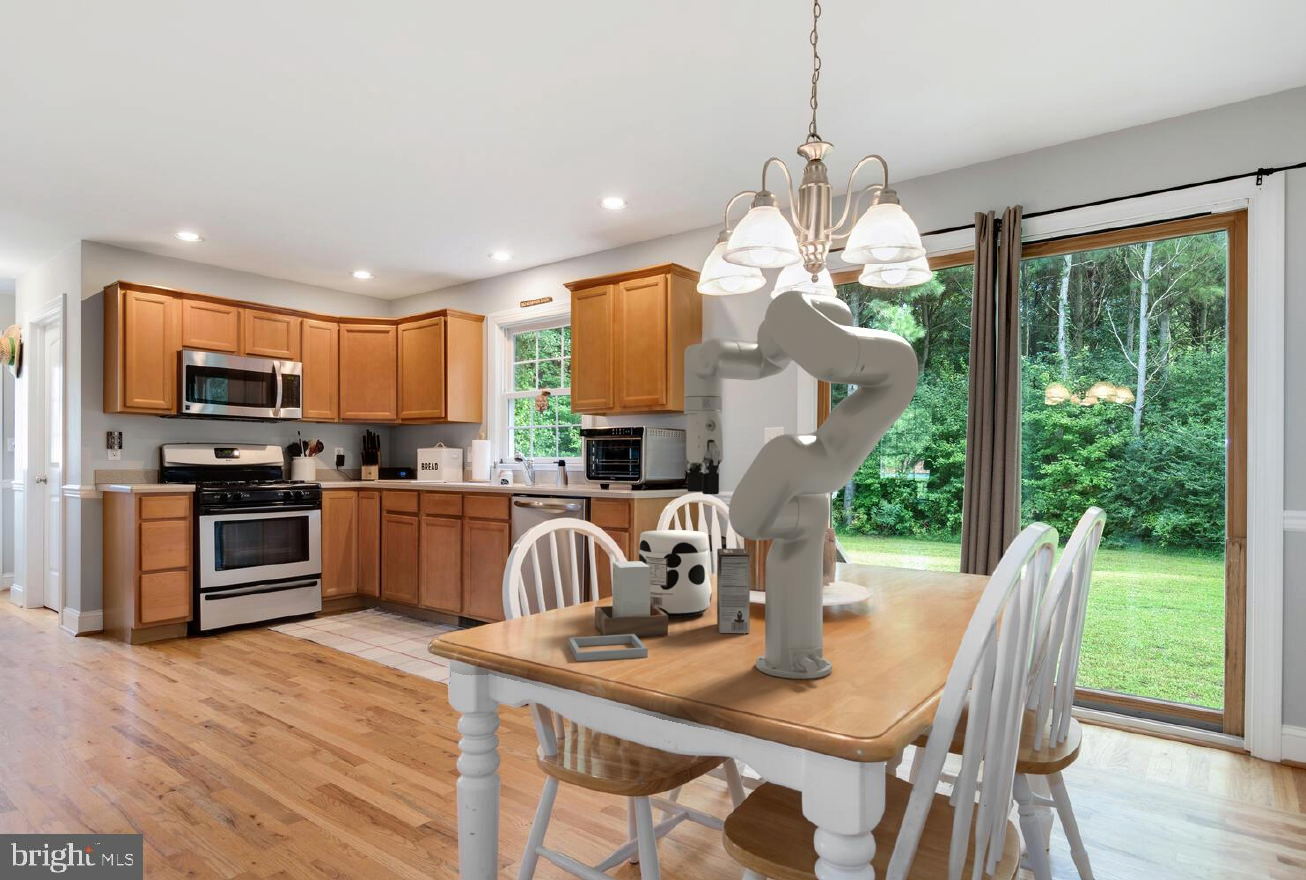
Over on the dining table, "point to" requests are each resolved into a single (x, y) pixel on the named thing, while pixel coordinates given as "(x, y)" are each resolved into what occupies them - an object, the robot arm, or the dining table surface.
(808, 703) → the dining table surface
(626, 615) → the small box
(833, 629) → the dining table surface
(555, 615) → the dining table surface
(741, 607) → the coffee box
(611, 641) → the tray
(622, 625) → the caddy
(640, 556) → the milk container
